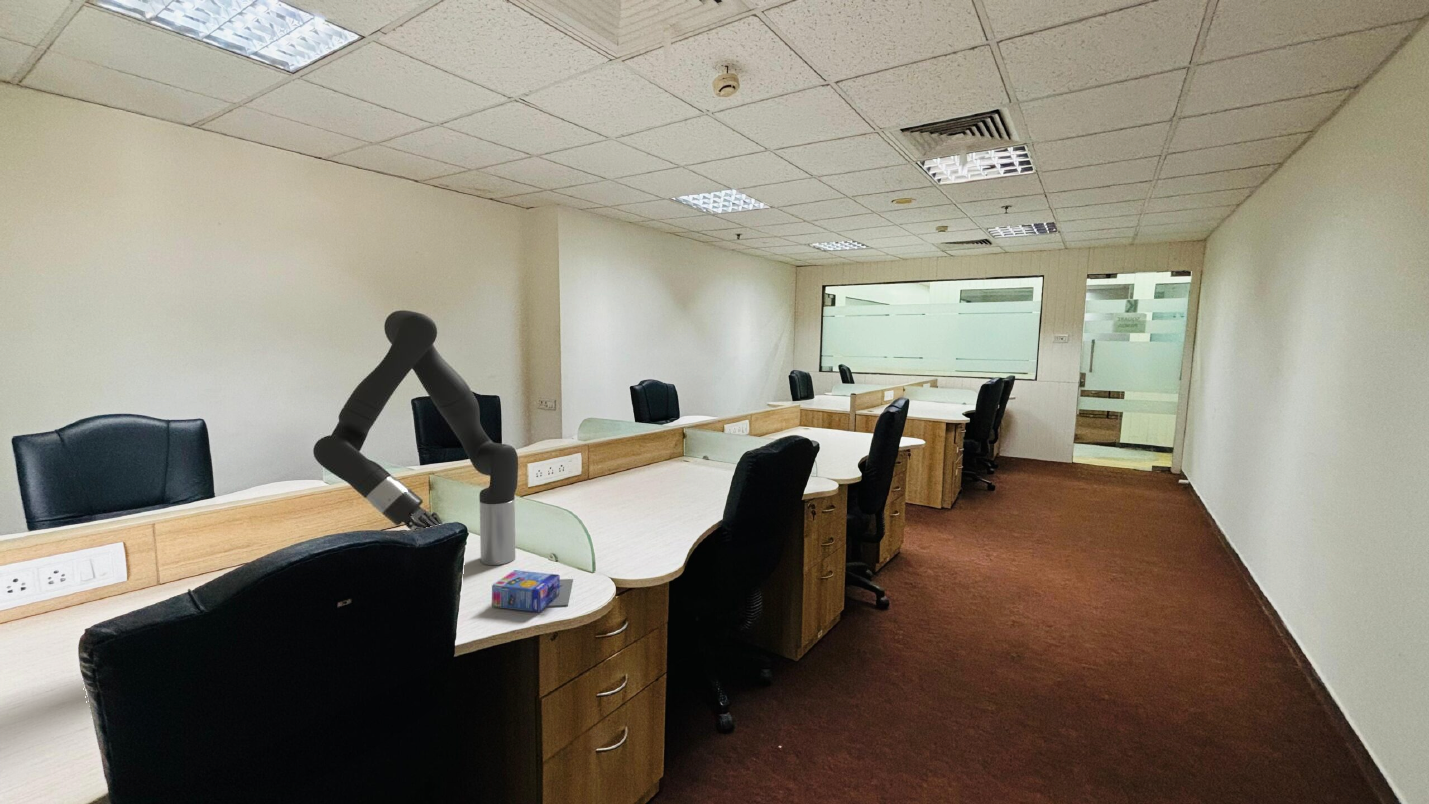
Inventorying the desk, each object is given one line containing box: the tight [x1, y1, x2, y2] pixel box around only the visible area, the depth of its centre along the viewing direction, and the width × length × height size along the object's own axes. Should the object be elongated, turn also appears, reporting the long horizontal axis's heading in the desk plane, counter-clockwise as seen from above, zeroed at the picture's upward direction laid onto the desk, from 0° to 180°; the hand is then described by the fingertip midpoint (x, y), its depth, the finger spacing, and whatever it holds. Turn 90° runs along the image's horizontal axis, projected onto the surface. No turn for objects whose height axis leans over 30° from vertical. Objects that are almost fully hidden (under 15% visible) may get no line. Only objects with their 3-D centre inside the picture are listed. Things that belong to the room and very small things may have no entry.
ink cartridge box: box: [491, 569, 563, 613], centre depth 132 cm, size 10×6×14 cm
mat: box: [545, 578, 574, 608], centre depth 137 cm, size 15×12×1 cm
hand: (453, 549), depth 132 cm, fingers closed
